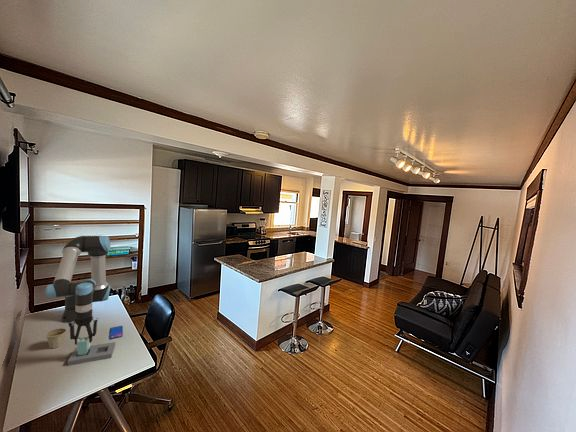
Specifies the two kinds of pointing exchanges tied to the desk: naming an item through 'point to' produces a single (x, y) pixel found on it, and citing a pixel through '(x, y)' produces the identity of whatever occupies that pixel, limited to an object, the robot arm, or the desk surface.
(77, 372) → the desk surface
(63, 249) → the robot arm
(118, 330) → the smartphone
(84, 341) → the charger
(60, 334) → the flower pot
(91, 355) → the outlet plate
